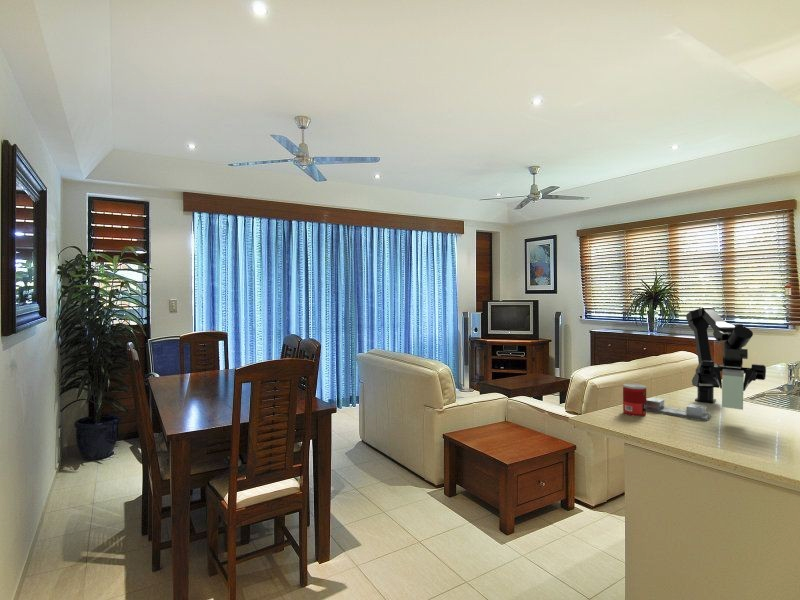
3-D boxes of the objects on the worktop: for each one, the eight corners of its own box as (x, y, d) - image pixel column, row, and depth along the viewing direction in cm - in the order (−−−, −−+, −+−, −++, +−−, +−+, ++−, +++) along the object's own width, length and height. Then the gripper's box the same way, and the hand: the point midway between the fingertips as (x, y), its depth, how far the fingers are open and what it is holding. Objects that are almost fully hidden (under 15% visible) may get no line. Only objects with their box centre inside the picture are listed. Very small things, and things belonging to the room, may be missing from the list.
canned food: (648, 417, 167) (648, 388, 167) (624, 415, 170) (624, 386, 170) (644, 411, 175) (644, 383, 174) (621, 410, 177) (621, 382, 177)
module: (722, 403, 163) (722, 368, 162) (742, 406, 159) (743, 370, 159) (721, 406, 159) (722, 370, 158) (742, 409, 155) (743, 372, 155)
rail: (647, 406, 183) (647, 396, 183) (711, 416, 167) (711, 406, 167) (640, 409, 177) (640, 399, 177) (706, 421, 161) (706, 410, 161)
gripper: (701, 339, 167) (699, 372, 159) (765, 342, 156) (767, 378, 147) (702, 357, 174) (701, 390, 165) (764, 361, 163) (765, 397, 154)
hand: (732, 389), depth 158 cm, fingers closed on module, 6 cm apart
